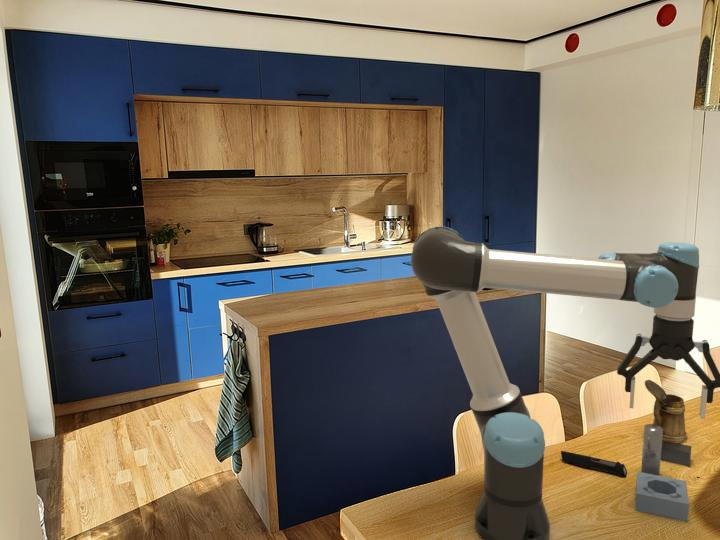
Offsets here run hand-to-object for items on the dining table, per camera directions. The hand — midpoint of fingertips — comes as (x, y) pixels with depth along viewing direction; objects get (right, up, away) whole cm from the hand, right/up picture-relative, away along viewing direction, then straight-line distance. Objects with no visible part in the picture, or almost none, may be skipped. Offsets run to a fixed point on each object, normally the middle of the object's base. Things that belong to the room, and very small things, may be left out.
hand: (666, 411), depth 124 cm
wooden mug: (+17, -16, +34) cm, 41 cm away
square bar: (+13, -18, +23) cm, 31 cm away
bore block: (0, -21, +3) cm, 22 cm away
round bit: (+4, -19, +16) cm, 25 cm away
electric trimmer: (-8, -19, +19) cm, 28 cm away
